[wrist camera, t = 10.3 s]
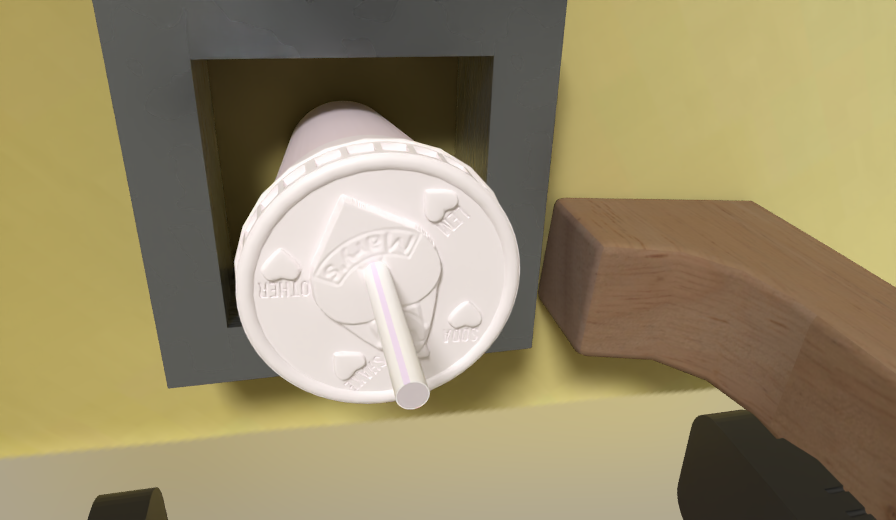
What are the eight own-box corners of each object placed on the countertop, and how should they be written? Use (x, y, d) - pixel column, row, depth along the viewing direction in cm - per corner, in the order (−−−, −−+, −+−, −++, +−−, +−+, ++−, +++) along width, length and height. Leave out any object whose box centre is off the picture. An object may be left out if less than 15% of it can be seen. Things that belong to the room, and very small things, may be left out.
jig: (521, -32, 22) (569, -21, 18) (498, 292, 27) (531, 348, 24) (120, -39, 19) (86, -28, 16) (182, 321, 25) (168, 388, 21)
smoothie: (398, 29, 22) (561, 176, 10) (458, 200, 25) (635, 472, 13) (211, 101, 21) (133, 347, 9) (295, 265, 25) (318, 607, 12)
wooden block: (533, 296, 28) (871, 791, 12) (552, 193, 26) (983, 627, 10) (723, 292, 30) (1214, 705, 14) (753, 197, 28) (1360, 556, 12)
